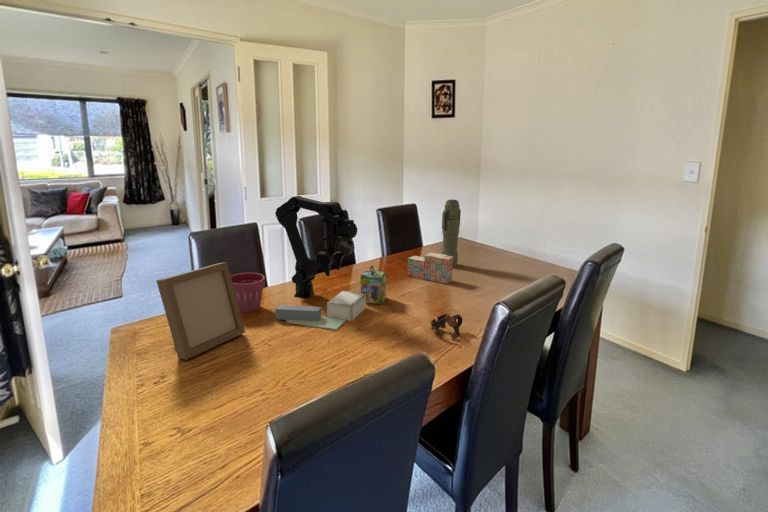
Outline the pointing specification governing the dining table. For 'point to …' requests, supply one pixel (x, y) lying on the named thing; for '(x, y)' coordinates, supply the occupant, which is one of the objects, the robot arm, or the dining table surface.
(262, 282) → the plant pot
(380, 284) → the green product box
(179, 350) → the photo frame
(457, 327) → the dark looped figurine
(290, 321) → the felt pad
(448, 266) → the stack of blocks
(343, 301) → the gray cuboid case
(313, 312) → the grey blank
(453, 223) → the dark grey statuette
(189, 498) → the dining table surface
